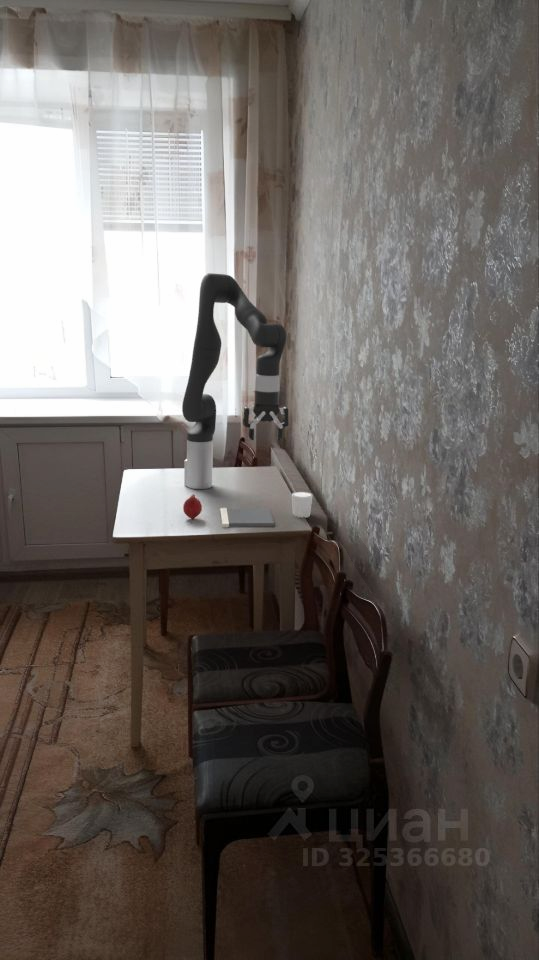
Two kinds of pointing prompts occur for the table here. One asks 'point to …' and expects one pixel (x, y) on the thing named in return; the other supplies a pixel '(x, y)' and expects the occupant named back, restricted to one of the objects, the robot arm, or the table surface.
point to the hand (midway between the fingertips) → (265, 439)
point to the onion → (192, 507)
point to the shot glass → (301, 503)
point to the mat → (246, 517)
